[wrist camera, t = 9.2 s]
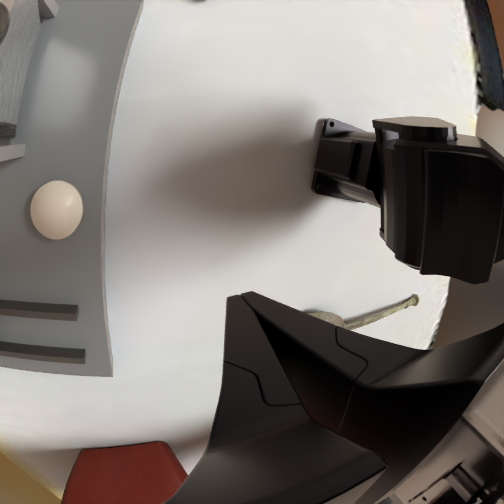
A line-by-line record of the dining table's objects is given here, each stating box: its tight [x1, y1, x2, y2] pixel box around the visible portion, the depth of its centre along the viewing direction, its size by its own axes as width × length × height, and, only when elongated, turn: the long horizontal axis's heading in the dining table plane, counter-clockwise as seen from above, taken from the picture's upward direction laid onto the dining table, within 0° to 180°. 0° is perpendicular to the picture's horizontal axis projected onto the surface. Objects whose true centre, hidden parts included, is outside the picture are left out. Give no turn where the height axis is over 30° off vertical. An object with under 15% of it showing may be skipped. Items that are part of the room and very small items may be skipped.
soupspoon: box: [307, 294, 419, 330], centre depth 32 cm, size 22×3×7 cm
